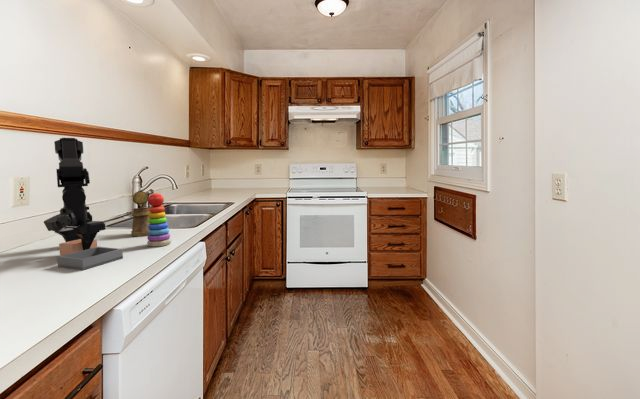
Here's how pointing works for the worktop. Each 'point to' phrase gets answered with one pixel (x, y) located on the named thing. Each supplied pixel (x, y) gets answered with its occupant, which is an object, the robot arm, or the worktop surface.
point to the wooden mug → (140, 215)
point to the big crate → (89, 258)
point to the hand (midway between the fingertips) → (79, 251)
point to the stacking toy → (157, 222)
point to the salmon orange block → (73, 246)
